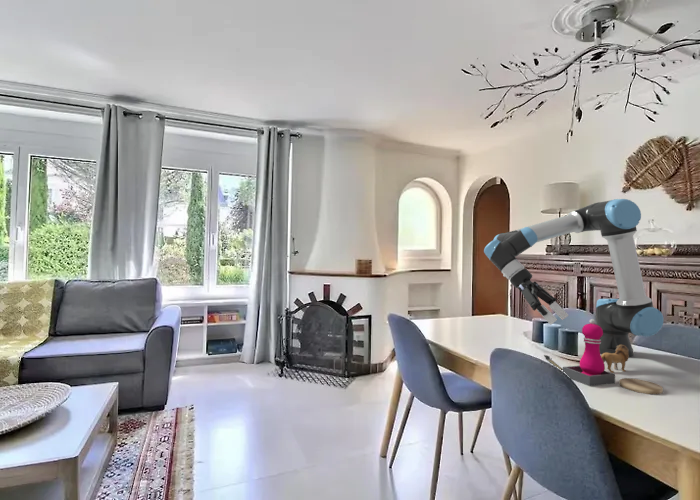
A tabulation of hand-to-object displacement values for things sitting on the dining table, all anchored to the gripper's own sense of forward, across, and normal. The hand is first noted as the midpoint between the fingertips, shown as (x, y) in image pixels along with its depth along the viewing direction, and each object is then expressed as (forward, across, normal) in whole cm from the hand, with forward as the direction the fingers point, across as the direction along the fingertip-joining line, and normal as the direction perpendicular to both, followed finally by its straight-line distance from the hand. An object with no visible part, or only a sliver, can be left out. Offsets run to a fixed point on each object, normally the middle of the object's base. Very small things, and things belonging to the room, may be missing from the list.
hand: (560, 320), depth 137 cm
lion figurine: (+22, -19, -4) cm, 30 cm away
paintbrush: (+11, -12, -16) cm, 23 cm away
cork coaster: (+29, -4, +3) cm, 30 cm away
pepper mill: (+20, -1, -6) cm, 21 cm away
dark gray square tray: (+20, 0, -7) cm, 21 cm away
